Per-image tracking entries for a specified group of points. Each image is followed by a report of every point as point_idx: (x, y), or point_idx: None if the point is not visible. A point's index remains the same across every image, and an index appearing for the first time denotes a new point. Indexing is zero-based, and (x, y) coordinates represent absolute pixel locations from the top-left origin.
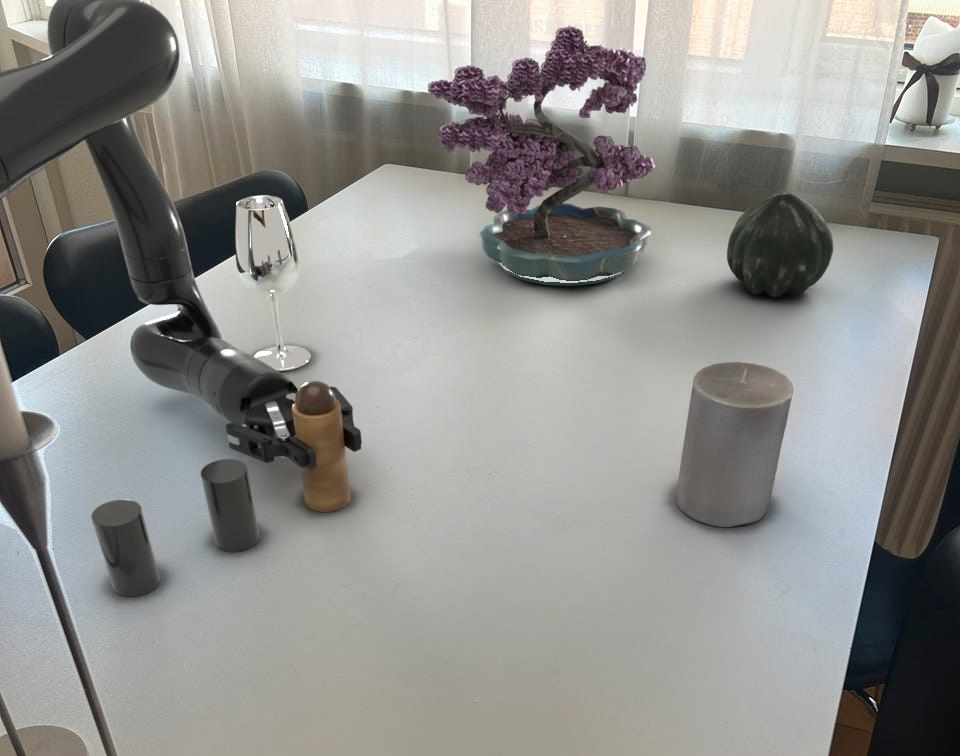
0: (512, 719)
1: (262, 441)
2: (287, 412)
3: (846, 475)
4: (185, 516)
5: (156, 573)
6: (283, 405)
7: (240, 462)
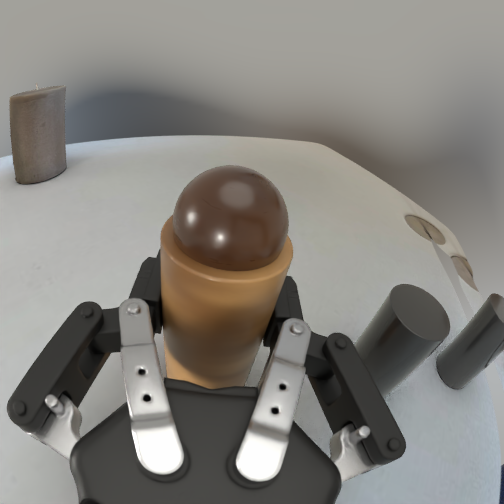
0: (270, 174)
1: (349, 338)
2: (216, 424)
3: (6, 160)
4: (401, 466)
5: (444, 351)
6: (196, 471)
7: (397, 312)
